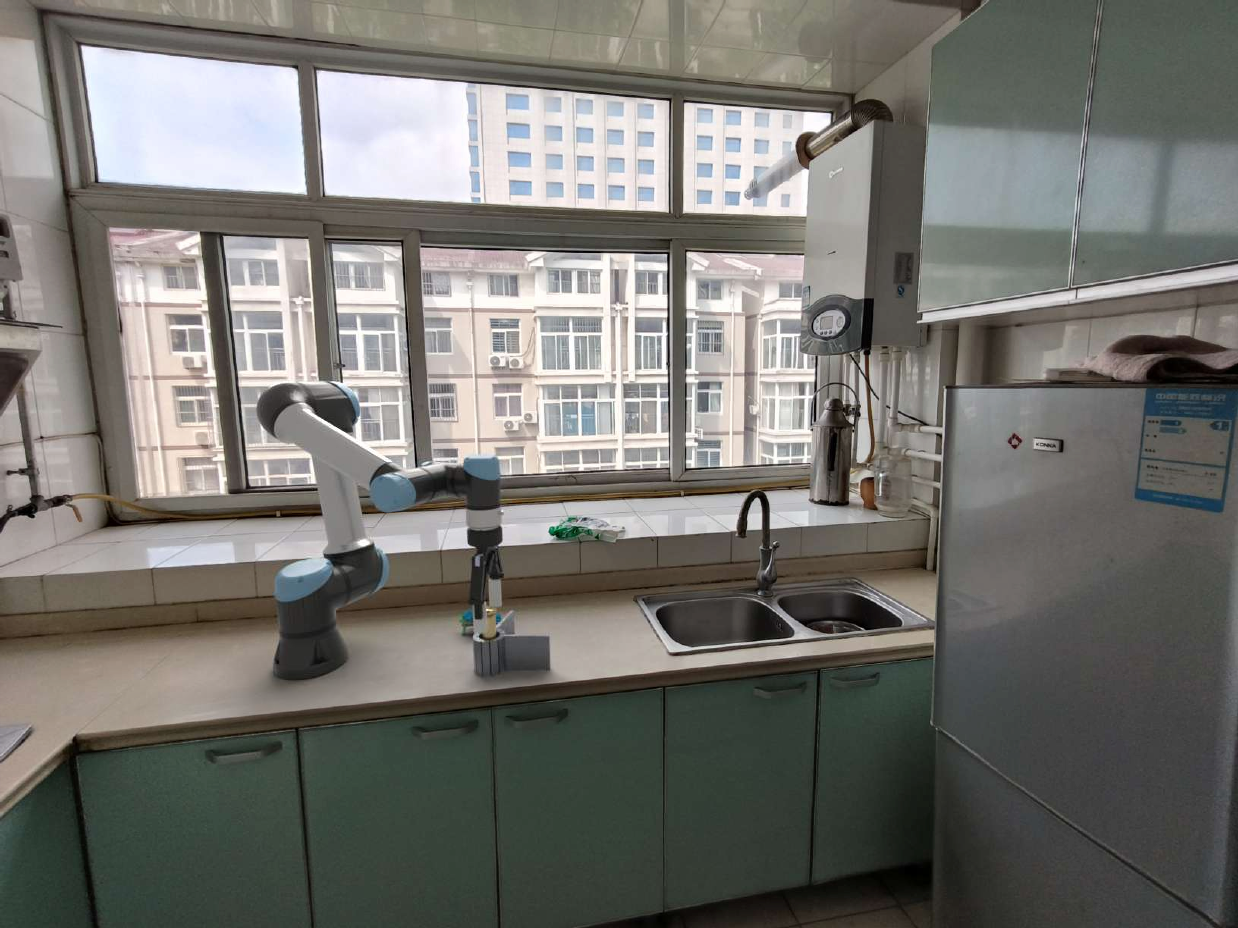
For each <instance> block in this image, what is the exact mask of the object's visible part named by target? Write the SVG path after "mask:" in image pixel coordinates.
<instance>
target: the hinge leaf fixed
mask: <svg viewBox="0 0 1238 928" xmlns="http://www.w3.org/2000/svg"><path fill="white" fill-rule="evenodd" d="M550 638H551V636H550V634H519V633H518V634H516V633H515V634H506V633H505V632H504V631H503V630H501V629H496V638H495V639H491V640H483V635H482V633H474V634H473V636H472V650H473V667H474V668H473V670H474V673H475V674H476V675H478V676H479V677H484V678H485V677H487V678H488V677H489V678H490V677H495V676H498V675H501V674H502V673H504V672H505V671H507V670H509V671H510V670H512V671H513V670H519V671H520V670H523V671H524V670H526V671H528V670H532V671H533V670H535V671H536V670H539V671H544V670H545V671H546V670H547V671H550V670H551V639H550Z"/></svg>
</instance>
